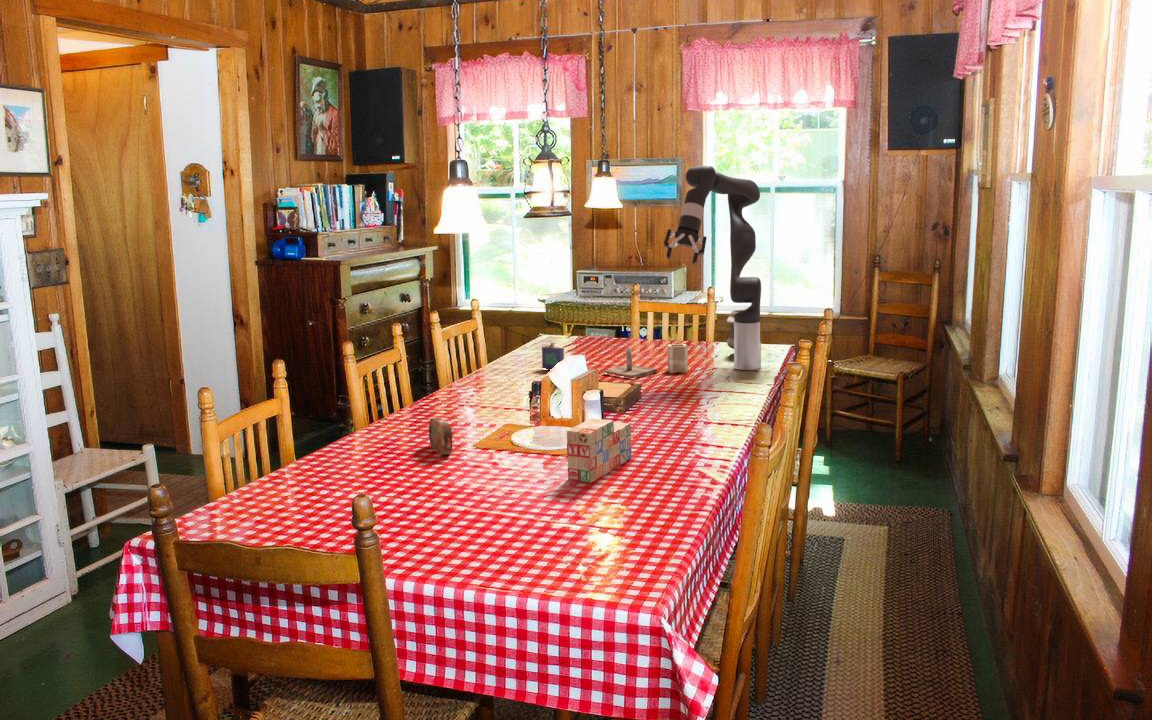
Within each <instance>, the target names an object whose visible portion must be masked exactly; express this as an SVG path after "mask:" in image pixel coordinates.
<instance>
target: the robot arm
mask: <svg viewBox="0 0 1152 720" xmlns="http://www.w3.org/2000/svg"><path fill="white" fill-rule="evenodd" d="M685 173H686V174H685V180H686V183H687V184H688V185H689V186H691V187H692V188H691V189H689V190H688V191H687V192H686V194H685V199H684V203H683V207H682V209H681V212H680V218H679V222H678V226H677V229H676V230H675V231H673V230H672V229H670V228H669V229H667V232H666V234H665V238H664V241H663V247H664V248H666V249H667V251H666V259H667V260H668V261H670V260H671V257H672V256H671V255H672V252H673V249H674V248H676V247H677V246H678V245H679V246H680V247H687V248H690V247H691V249H692V251H693V253H694V254H693V256H692V257H693V259H692V262H691V266H694V265H695V264H697V262H698V258H699V256H700V255H705V249H706V244H707V236H699V233H700V230H701V229H700V228H701V225H702V220H703V216H704V209H705V204H706V201H707V198H708V196H709V194H710V193H711V192H713V193H715V194H720V195H727V203H728V213H729V221H730V223H729V225H730V227H729V228H730V231H729V233H730V239H729V242H730V247H729V248H730V263H731V265H730V285H729V289H730V290H729V292H730V293H729V295H730V299H731V301H732V303H737V304H748V303H749V304H750V306H748V307H747V308H745V309H742V310H743V311H741V312H738V313H736V314H735V316H734V349H733V353H734V358H733V368H734V369H736V370H740V371H756V370H759V369H760V367H762V363H761V362H762V341H761V298H762V297H761V296H762V281H761V278H759V277H758V276H745V277H744V276H741V273H742V271H743V269H744V268H745V265H747V263H748V262H749V260H751V258H752V257H753V255H754V254H755V251H756V247H757V246H756V245H757V244H756V241H757V239H756V231H755V229H754V228H753V227H752V226H751V224H750V223H749V222H748V221H747V220H746V219H745V217H743V209H744V208H746V207H749V206H751V205H753V204H756V203H757V202H759V200H760V198H761V192H760V188H759V186H758V184H757V183H756V182H755V181H753V180H752V179H747V178H746V179H745V178H744V179H743V178H737V177H732V176H728V175H726V174H723V173H721V172H719V171H716V169H715V168H714V167H713V166H712V165H708V164H707V165H697V166H692V167H690V168H689V169H688V170H687V171H686V172H685ZM673 236H674V237H675V239H674V240H672V242H671V243H669V241H670V239H671V238H672V237H673ZM698 241H699V243H700V244H701V249H698V246H697V244H696V243H697V242H698Z"/></svg>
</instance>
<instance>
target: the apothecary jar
mask: <svg viewBox="0 0 1152 720" xmlns="http://www.w3.org/2000/svg"><path fill="white" fill-rule="evenodd" d="M743 310H744V309H734V310H731V312H730V315H729V316H728V317H727V319H726V322H727V324H728V325H729V331H730V332H729V334H730V335H729V337H728V339H727V341H726V345H727V346H728V347H729V348H730V349H732V350H734V316H735V314H736V313H738V312H741V311H743ZM730 356H731V357H734V352H733V353H731V354H730V355H729V357H730ZM731 357H730V358H731Z"/></svg>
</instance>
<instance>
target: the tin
mask: <svg viewBox="0 0 1152 720" xmlns="http://www.w3.org/2000/svg"><path fill="white" fill-rule="evenodd" d="M428 435H429V443H430V447H431V449H432V448H433V449H432V450H433V451H435V452H436V453H437V454H438V455H439V456H447V455H451V454H452V451H453V430H452V427H451V425H450V424H449V423H448V422H447V421H445V419H443V418H441V417H437V418H436V417H435V418H434V417H432V418H430V420H429V424H428Z"/></svg>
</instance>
